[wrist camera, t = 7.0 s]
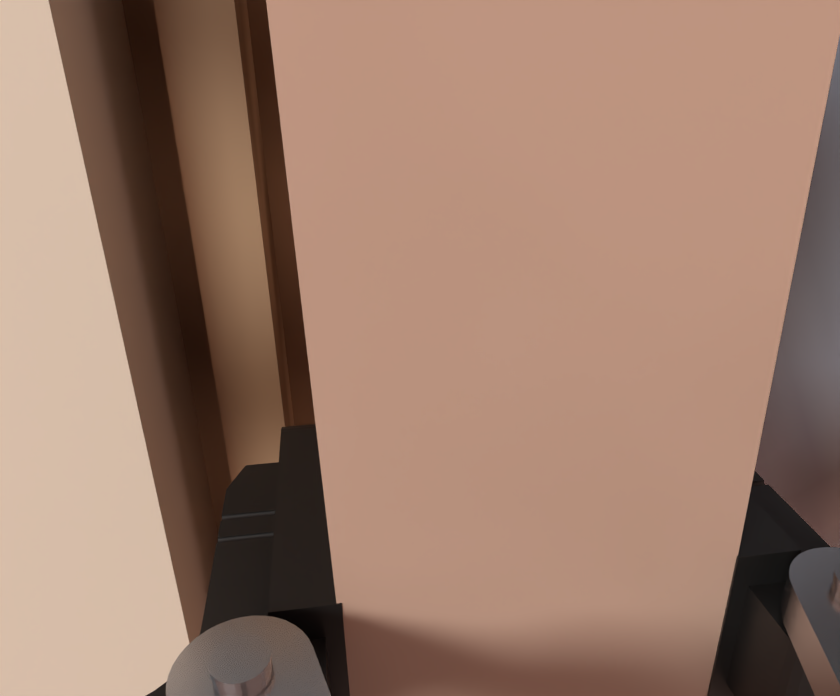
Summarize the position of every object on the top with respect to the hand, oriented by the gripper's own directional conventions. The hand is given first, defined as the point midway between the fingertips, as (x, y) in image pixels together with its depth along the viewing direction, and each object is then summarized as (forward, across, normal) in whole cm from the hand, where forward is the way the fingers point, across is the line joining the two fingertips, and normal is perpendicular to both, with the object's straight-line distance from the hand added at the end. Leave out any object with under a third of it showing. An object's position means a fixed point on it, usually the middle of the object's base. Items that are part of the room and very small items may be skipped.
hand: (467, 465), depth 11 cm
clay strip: (0, 0, 0) cm, 0 cm away
